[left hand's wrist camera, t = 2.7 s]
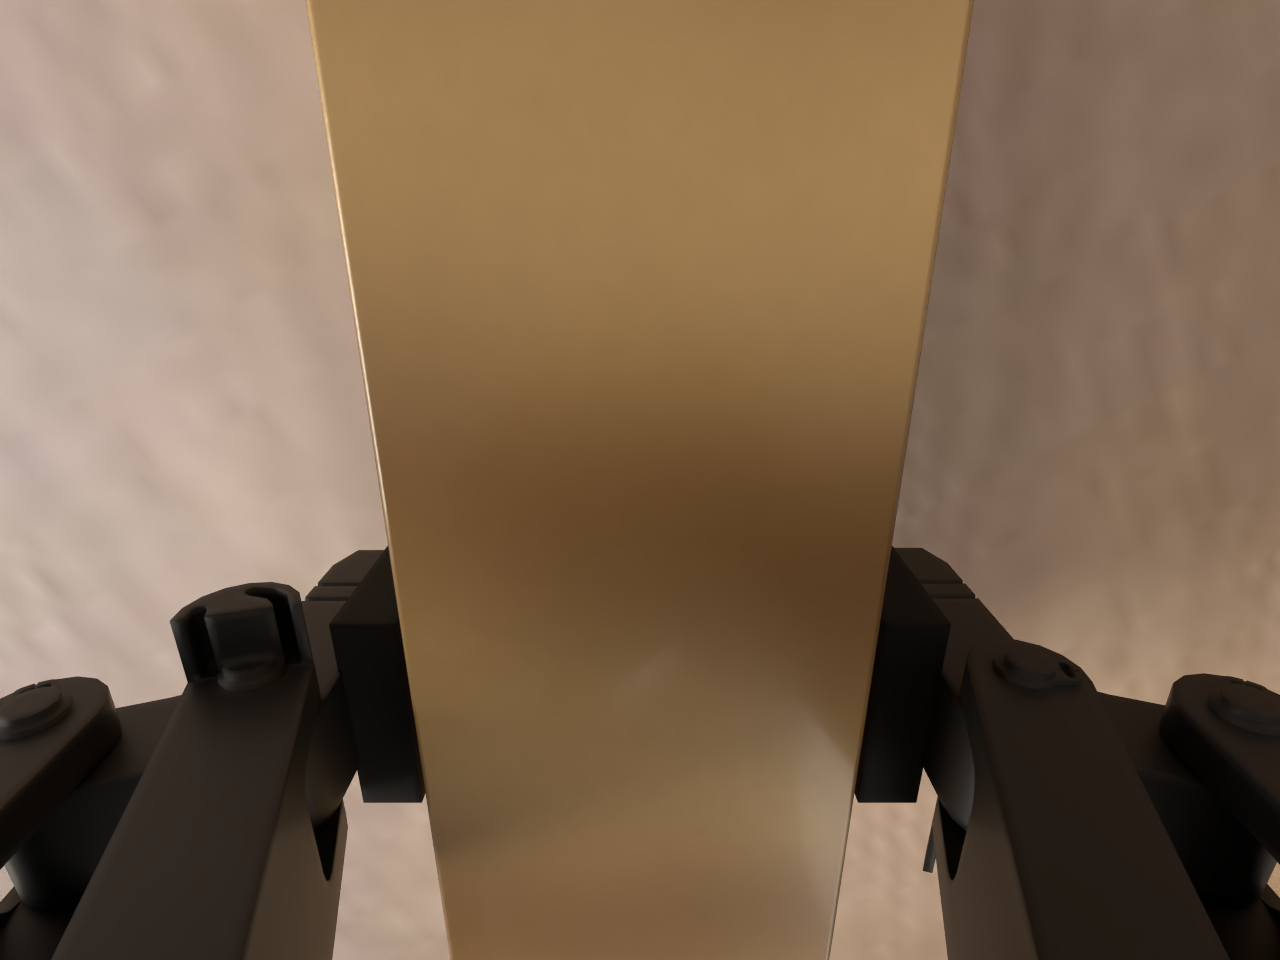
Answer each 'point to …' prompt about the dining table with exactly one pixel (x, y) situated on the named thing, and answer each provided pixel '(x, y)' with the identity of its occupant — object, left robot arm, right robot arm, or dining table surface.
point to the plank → (639, 435)
